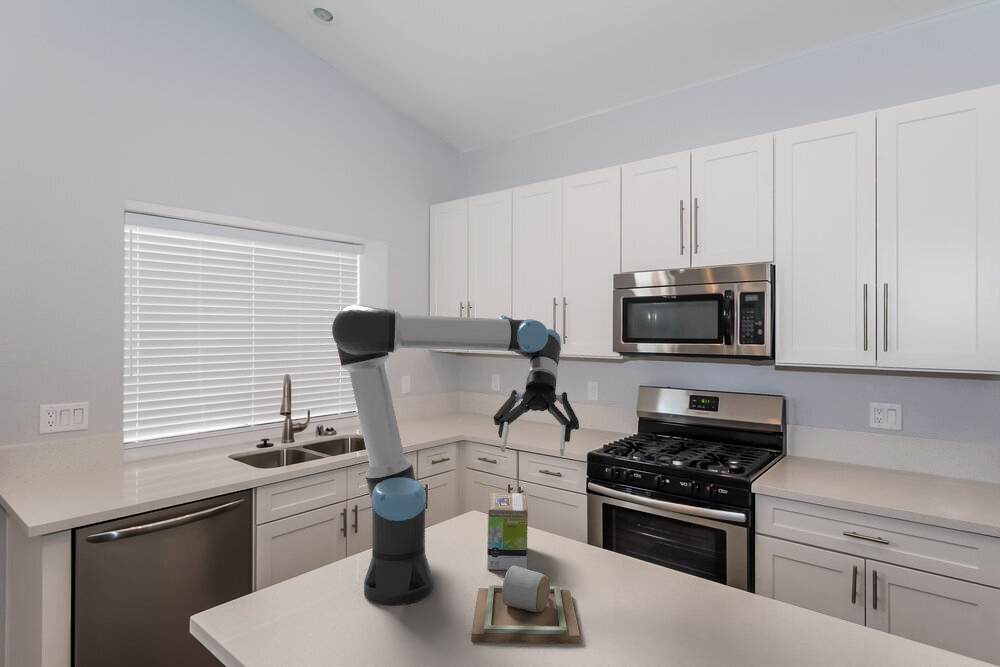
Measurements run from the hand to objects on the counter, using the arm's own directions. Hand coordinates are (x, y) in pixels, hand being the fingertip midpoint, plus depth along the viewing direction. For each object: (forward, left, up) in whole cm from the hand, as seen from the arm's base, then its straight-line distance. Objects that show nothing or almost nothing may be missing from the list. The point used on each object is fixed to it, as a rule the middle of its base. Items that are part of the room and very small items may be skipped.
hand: (531, 450), depth 122 cm
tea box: (-6, +16, -31) cm, 35 cm away
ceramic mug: (-1, -11, -29) cm, 32 cm away
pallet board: (-2, -13, -31) cm, 34 cm away
